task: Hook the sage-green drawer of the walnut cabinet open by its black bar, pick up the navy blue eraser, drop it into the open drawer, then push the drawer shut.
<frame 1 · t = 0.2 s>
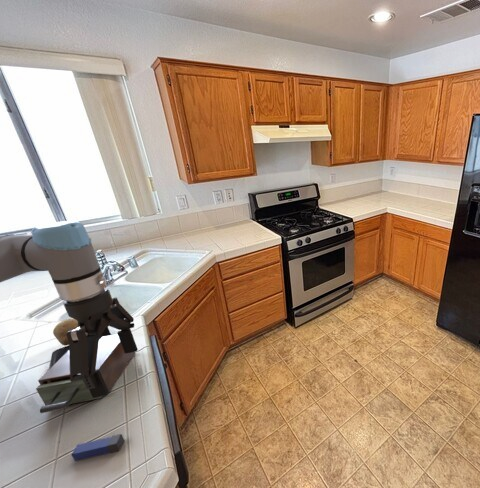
hand: (117, 371, 63), 16 cm above the countertop, tool pointing down, fingers open, 13 cm apart
drawer: (81, 379, 76), point 5 cm above the countertop, slide at 0.8 cm
phone: (67, 359, 91), on the countertop
natural sponge: (76, 342, 100), on the countertop
cabinet: (98, 376, 83), on the countertop
navy blue eraser: (98, 451, 61), on the countertop
battery: (100, 341, 100), on the countertop
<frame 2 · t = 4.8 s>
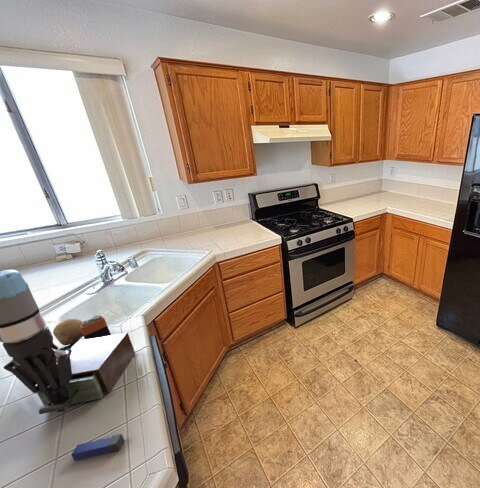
hand: (64, 406, 70), 3 cm above the countertop, tool pointing down, fingers closed
drawer: (80, 380, 76), point 5 cm above the countertop, slide at 1.0 cm, touching gripper
everything else where it was.
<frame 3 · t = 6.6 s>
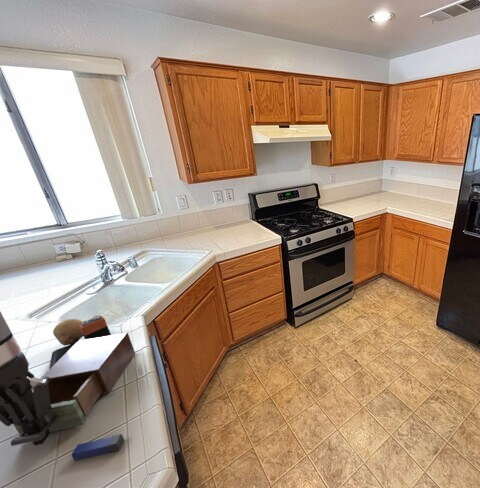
hand: (42, 439, 63), 2 cm above the countertop, tool pointing down, fingers closed
drawer: (61, 403, 69), point 5 cm above the countertop, slide at 8.8 cm, touching gripper
everything else where it was.
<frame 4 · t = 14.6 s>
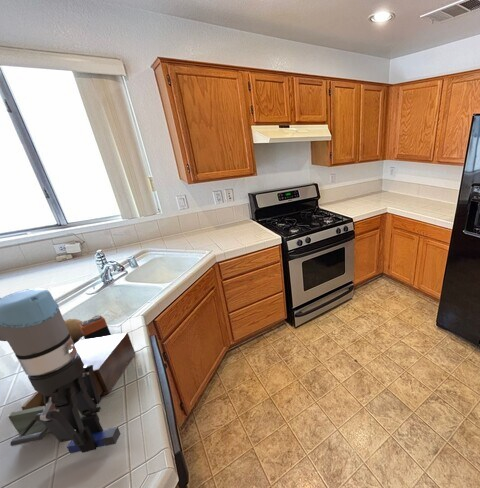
hand: (93, 442, 60), 3 cm above the countertop, tool pointing down, fingers closed on navy blue eraser, 2 cm apart
drawer: (61, 403, 69), point 5 cm above the countertop, slide at 8.9 cm
navy blue eraser: (94, 443, 61), point 2 cm above the countertop, touching gripper
everything else where it was.
when the fingers open (2 cm above the countertop, at t = 19.8 s): navy blue eraser stays where it is, resting on drawer.
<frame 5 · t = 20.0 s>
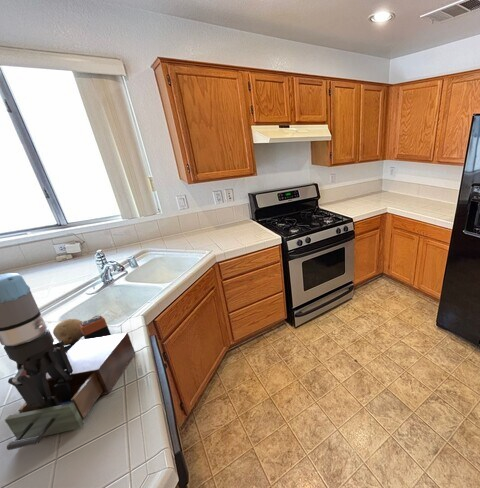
hand: (64, 409, 70), 2 cm above the countertop, tool pointing down, fingers open, 4 cm apart
drawer: (58, 406, 68), point 5 cm above the countertop, slide at 9.7 cm, touching navy blue eraser
navy blue eraser: (63, 411, 69), point 2 cm above the countertop, touching drawer
everything else where it was.
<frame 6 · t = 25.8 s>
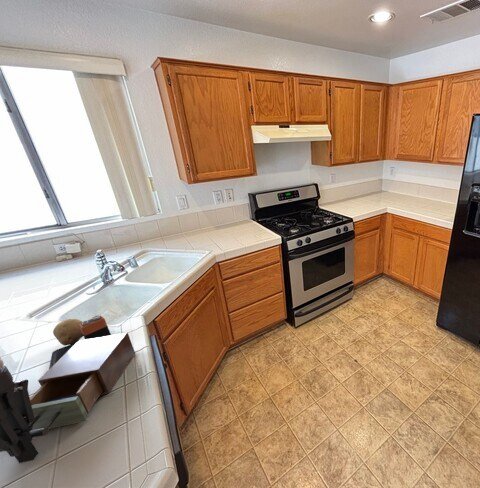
hand: (29, 458, 59), 2 cm above the countertop, tool pointing down, fingers closed
drawer: (64, 400, 70), point 5 cm above the countertop, slide at 7.8 cm, touching gripper, navy blue eraser
navy blue eraser: (69, 405, 71), point 2 cm above the countertop, touching drawer
everything else where it was.
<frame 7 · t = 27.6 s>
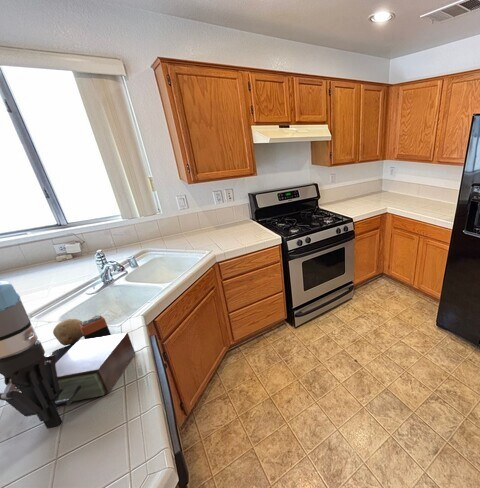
hand: (55, 425, 66), 2 cm above the countertop, tool pointing down, fingers closed
drawer: (83, 377, 77), point 5 cm above the countertop, slide at 0.0 cm, touching cabinet, gripper, navy blue eraser
navy blue eraser: (87, 382, 78), point 2 cm above the countertop, touching drawer
everything else where it was.
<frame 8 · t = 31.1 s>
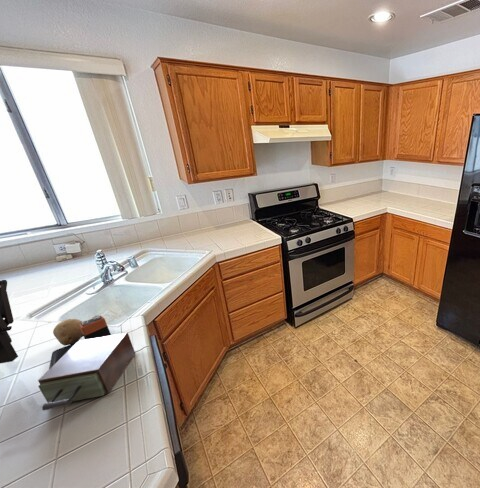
hand: (8, 360, 57), 24 cm above the countertop, tool pointing down, fingers closed
drawer: (83, 377, 77), point 5 cm above the countertop, slide at 0.0 cm, touching cabinet, navy blue eraser
everything else where it was.
at the end: drawer pulled out 10.4 cm at the most during the clip, back to where it started at the end; navy blue eraser inside the target area in the cabinet (0.2 cm from its centre), point 2.0 cm above the cabinet's base; drawer slide at 0.0 cm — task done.
